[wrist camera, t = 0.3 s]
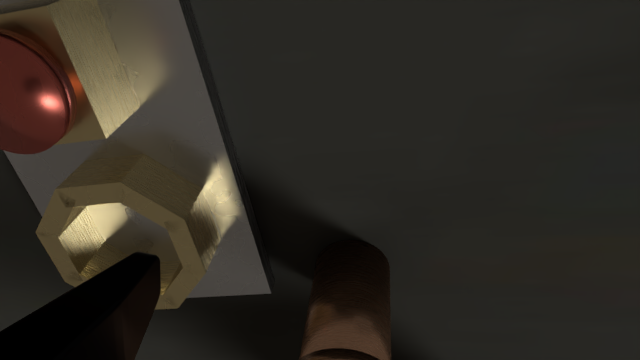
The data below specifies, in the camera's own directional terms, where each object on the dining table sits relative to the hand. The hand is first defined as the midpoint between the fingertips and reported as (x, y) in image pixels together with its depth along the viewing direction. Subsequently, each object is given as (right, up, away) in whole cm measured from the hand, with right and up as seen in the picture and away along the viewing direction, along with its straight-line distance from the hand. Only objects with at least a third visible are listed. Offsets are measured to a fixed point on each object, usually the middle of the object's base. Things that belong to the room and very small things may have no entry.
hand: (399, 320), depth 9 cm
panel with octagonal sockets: (-11, +4, +15) cm, 19 cm away
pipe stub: (0, -2, +17) cm, 18 cm away
